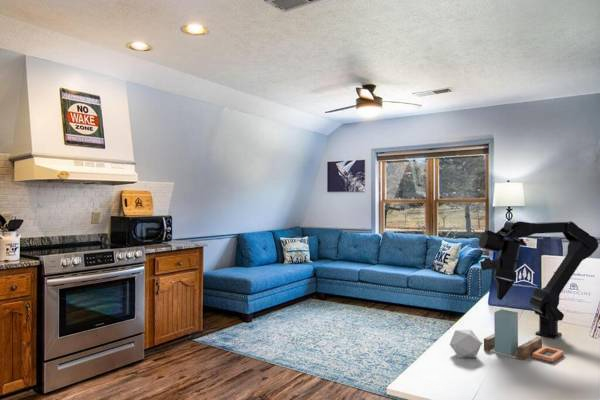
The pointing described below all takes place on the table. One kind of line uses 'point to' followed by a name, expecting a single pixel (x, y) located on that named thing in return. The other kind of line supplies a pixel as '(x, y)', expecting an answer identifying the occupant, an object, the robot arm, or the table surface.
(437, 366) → the table surface
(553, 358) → the frame
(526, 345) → the channel
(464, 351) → the die
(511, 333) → the block
